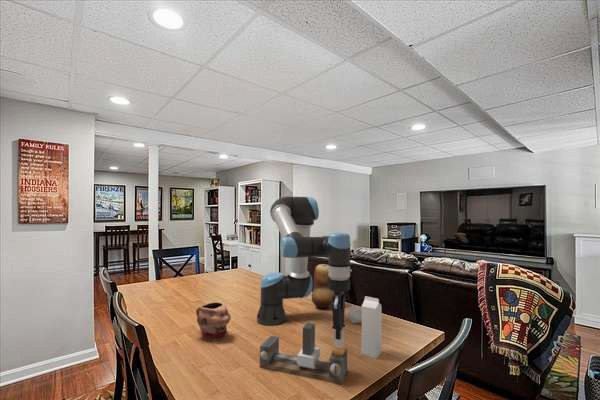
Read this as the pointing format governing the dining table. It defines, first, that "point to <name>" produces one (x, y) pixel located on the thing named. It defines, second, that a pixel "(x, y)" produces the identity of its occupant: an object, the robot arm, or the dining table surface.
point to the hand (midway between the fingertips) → (338, 347)
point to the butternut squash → (321, 287)
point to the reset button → (338, 351)
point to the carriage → (308, 348)
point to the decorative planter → (213, 320)
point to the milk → (371, 327)
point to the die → (355, 314)
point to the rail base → (288, 364)
